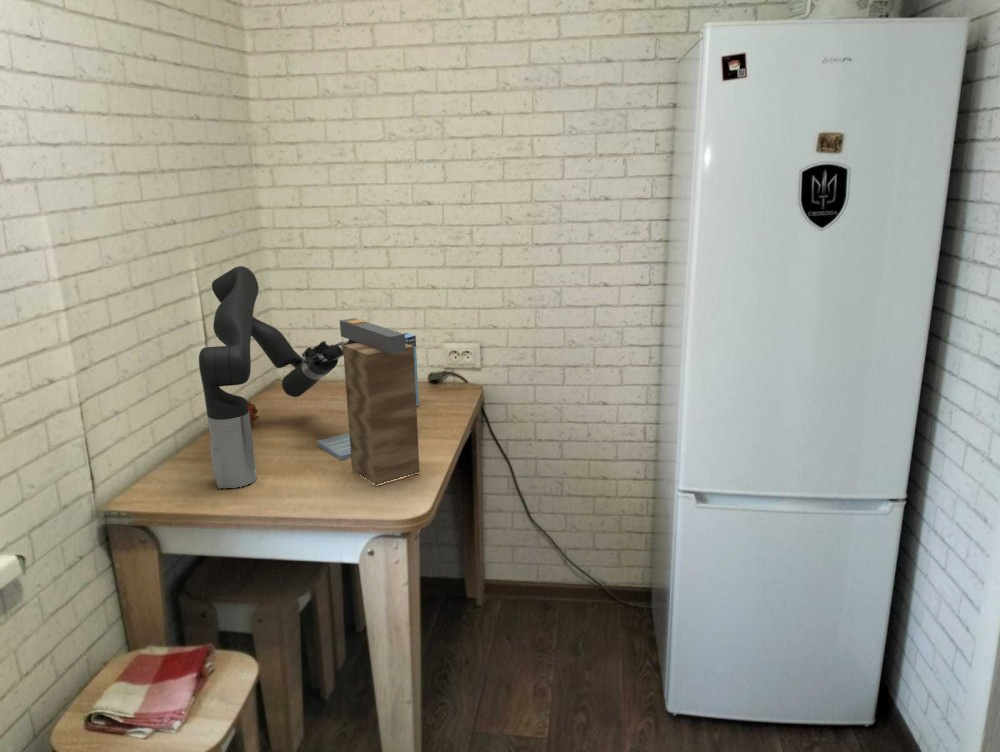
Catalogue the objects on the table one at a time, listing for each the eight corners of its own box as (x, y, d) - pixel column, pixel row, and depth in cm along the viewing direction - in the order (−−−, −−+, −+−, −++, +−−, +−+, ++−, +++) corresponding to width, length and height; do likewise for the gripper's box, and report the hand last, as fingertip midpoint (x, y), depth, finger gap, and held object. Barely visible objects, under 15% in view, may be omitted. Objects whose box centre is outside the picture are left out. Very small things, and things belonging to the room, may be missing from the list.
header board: (317, 445, 199) (316, 440, 198) (350, 436, 205) (350, 432, 204) (341, 460, 188) (340, 455, 188) (375, 451, 194) (375, 446, 194)
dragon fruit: (256, 425, 219) (237, 445, 208) (231, 409, 218) (211, 429, 207) (268, 405, 216) (250, 424, 205) (243, 389, 214) (223, 408, 204)
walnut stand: (352, 471, 181) (342, 345, 173) (394, 459, 189) (387, 337, 180) (376, 486, 172) (367, 354, 163) (419, 473, 179) (413, 346, 171)
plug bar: (340, 336, 182) (339, 319, 181) (355, 333, 184) (354, 317, 183) (390, 354, 164) (389, 335, 162) (405, 351, 166) (404, 333, 165)
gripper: (290, 353, 196) (310, 332, 183) (339, 345, 204) (361, 324, 192) (298, 380, 195) (319, 360, 182) (347, 370, 203) (370, 351, 191)
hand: (340, 342), depth 187 cm, fingers open, 8 cm apart
